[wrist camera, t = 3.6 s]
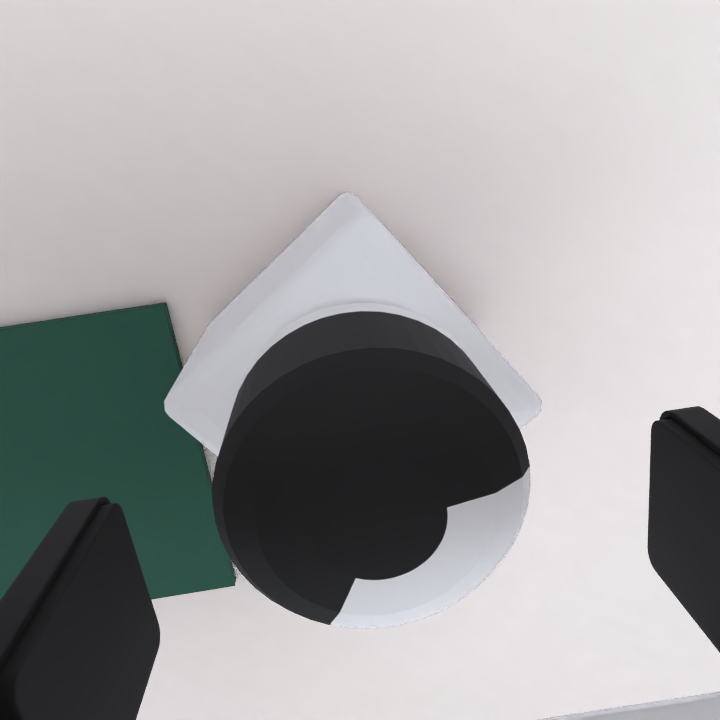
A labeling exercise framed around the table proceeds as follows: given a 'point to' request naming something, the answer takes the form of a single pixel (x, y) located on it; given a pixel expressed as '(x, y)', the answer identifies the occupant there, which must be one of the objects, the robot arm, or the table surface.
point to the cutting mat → (104, 444)
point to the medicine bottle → (357, 430)
